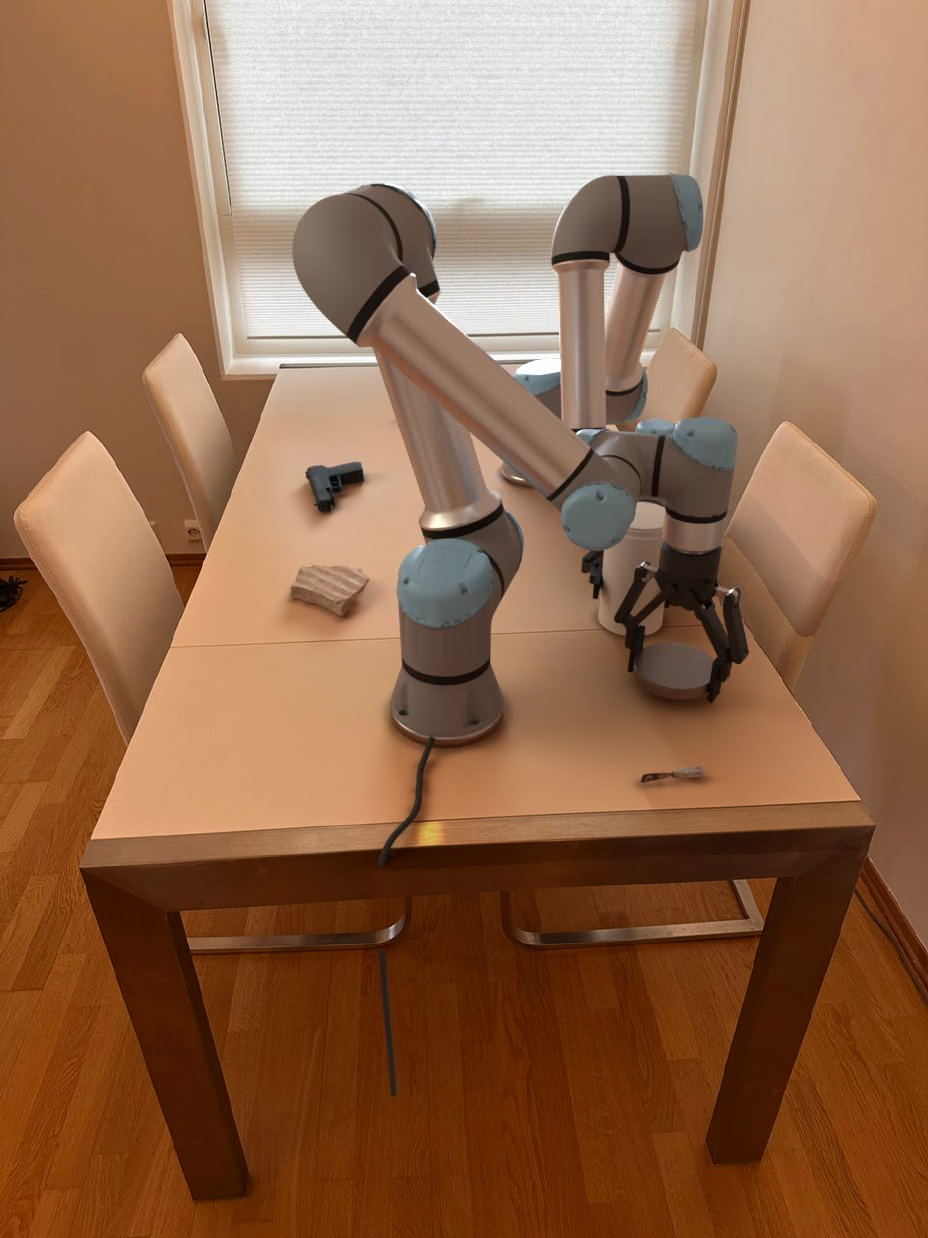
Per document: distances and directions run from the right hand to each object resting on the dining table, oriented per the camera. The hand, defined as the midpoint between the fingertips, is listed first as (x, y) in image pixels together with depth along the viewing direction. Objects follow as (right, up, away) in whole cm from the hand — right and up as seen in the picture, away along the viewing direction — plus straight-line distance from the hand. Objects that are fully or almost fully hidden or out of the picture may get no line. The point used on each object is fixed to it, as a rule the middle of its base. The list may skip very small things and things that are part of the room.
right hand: (631, 595), depth 134 cm
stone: (-47, 0, +14) cm, 49 cm away
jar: (+1, -4, +7) cm, 8 cm away
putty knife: (0, -23, -24) cm, 34 cm away
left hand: (+4, -12, -10) cm, 16 cm away
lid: (+4, -10, -11) cm, 15 cm away
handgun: (-51, +22, +49) cm, 74 cm away
